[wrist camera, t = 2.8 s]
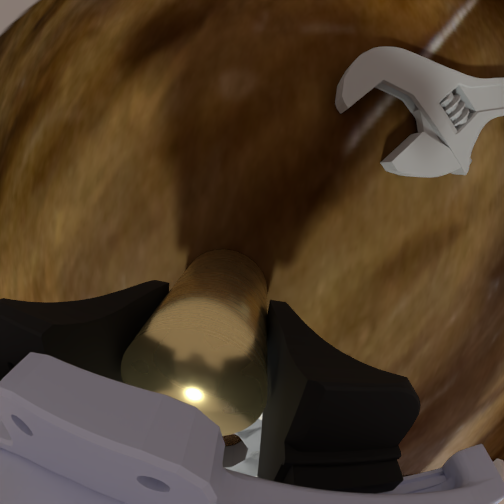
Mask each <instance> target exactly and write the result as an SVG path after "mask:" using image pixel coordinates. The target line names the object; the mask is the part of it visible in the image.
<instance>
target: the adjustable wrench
mask: <svg viewBox="0 0 504 504" xmlns="http://www.w3.org/2000/svg"><path fill="white" fill-rule="evenodd" d="M374 87H375V88H377V89H379V90H382V91H384V92H386V93H388V94H390V95H392V96H394V97H396V98H398V99H400V100H402V101H403V102H404V104H405V105H406V106H407V108H408V109H409V111H410V112H411V113H412V115H413V116H414V117H415V119H416V123H417V130H418V133H415V134H411V135H410V136H408V137H407V138H406V139H405V140H404V141H403V142H402V143H401V144H400V145H399V146H398V147H397V148H396V149H394V150H393V151H392V152H391V153H390V154H389V155H388V156H387V157H386V158H385V159H384V160H383V161H381V162H380V163H381V164H382V166H383V167H384V169H385V170H386V171H388V172H391V173H394V174H398V175H403V176H413V177H428V178H429V177H438V176H442V175H445V174H448V173H452V174H459V175H466V174H467V172H468V170H469V165H470V164H471V162H472V160H471V158H470V155H471V152H472V149H473V146H474V144H475V142H476V140H477V138H478V135H479V133H480V131H481V129H482V128H483V127H484V125H485V124H486V123H487V122H489V121H490V120H491V119H493V118H496V117H499V116H504V77H503V78H487V79H484V78H475V77H472V76H469V75H465V74H463V73H461V72H458V71H456V70H453V69H450V68H448V67H445V66H443V65H441V64H438V63H436V62H434V61H431V60H429V59H427V58H425V57H422V56H420V55H418V54H415V53H413V52H410V51H408V50H405V49H403V48H398V47H389V46H385V47H376V48H372V49H370V50H368V51H366V52H365V53H363V54H361V55H360V56H359V57H358V58H357V59H356V60H355V61H354V62H353V63H352V64H351V65H350V66H349V68H348V69H347V70H346V71H345V73H344V74H343V76H342V78H341V80H340V82H339V84H338V85H337V91H336V99H335V105H336V108H337V110H338V111H339V113H340V114H342V113H343V112H344V111H346V110H347V109H348V108H349V107H351V106H352V105H353V104H354V103H355V102H357V101H358V100H359V99H360V98H362V97H363V96H364V95H365V94H366V93H368V92H369V91H370V90H371V89H373V88H374Z"/></svg>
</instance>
